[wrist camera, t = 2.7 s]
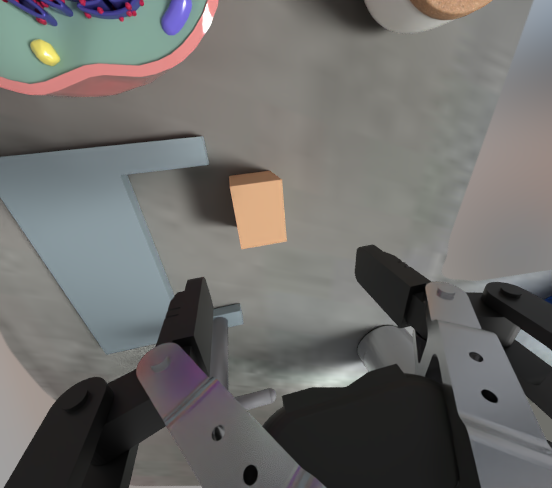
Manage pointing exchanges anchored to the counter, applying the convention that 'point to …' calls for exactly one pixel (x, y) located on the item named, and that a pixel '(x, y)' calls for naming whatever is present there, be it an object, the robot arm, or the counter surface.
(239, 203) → the tan wooden brick
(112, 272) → the screw clamp
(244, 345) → the counter surface
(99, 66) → the cell model
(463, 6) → the lidded jar
